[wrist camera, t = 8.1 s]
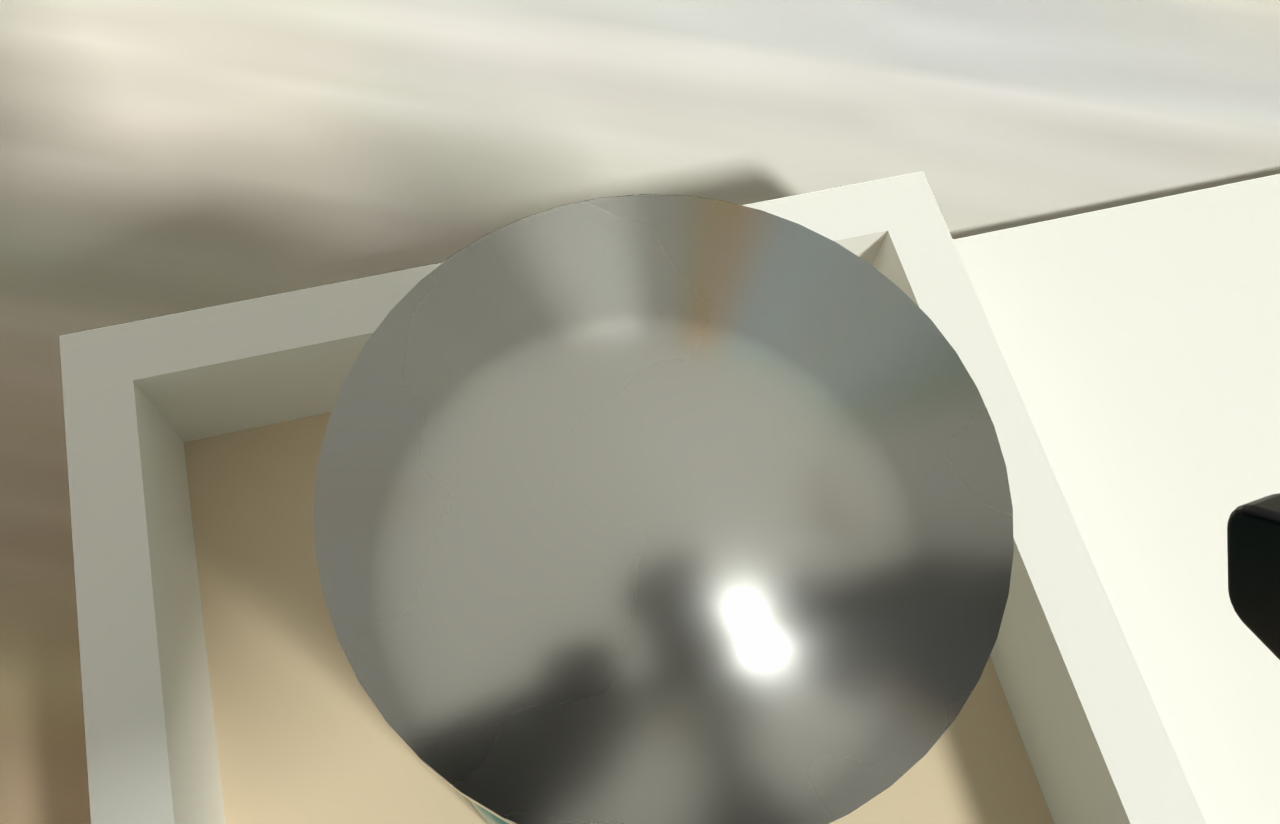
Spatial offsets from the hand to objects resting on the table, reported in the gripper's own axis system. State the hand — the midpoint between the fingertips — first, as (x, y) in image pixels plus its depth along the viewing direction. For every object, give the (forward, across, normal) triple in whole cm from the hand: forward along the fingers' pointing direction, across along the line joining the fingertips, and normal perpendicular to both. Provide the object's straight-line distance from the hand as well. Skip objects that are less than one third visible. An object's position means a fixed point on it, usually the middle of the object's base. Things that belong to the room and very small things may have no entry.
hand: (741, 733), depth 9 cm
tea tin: (+8, 0, +5) cm, 9 cm away
